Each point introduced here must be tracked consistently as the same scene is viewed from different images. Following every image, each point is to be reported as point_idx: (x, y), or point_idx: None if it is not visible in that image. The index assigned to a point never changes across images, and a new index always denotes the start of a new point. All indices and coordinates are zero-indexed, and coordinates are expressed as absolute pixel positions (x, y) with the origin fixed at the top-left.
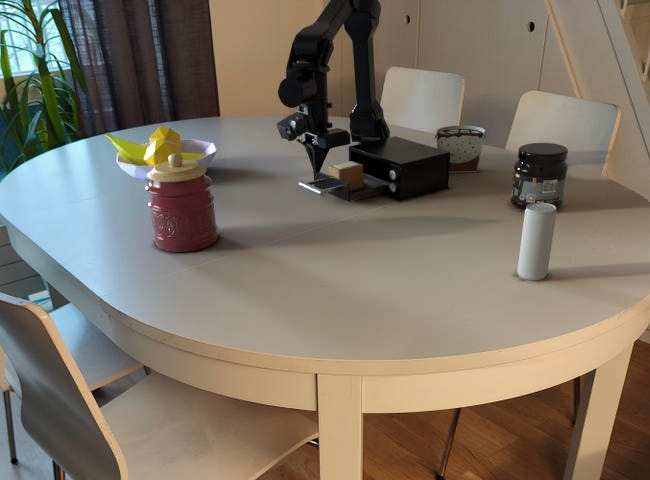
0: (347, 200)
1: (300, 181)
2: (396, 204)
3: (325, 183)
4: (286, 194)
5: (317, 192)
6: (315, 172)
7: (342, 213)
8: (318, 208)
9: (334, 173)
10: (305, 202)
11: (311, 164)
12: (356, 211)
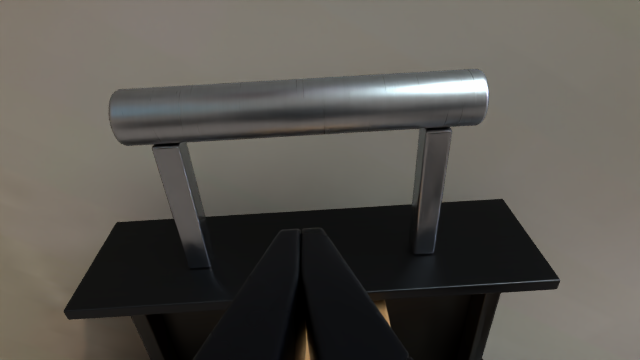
0: (121, 225)
1: (485, 99)
2: (79, 352)
3: (372, 243)
4: (611, 14)
5: (149, 91)
6: (294, 230)
7: (28, 130)
8: (190, 54)
9: (306, 336)
10: (359, 42)
11: (346, 275)
12: (39, 202)
